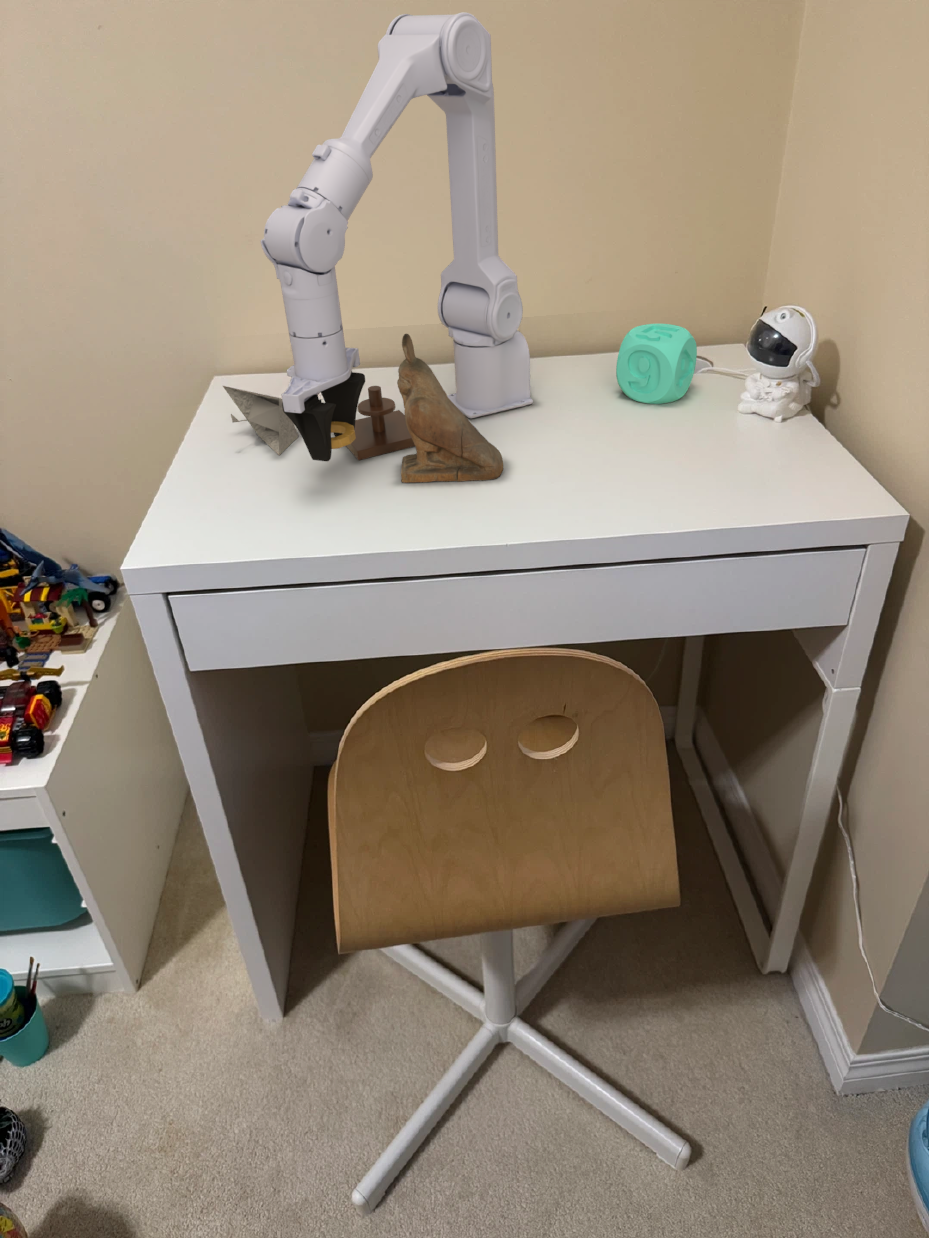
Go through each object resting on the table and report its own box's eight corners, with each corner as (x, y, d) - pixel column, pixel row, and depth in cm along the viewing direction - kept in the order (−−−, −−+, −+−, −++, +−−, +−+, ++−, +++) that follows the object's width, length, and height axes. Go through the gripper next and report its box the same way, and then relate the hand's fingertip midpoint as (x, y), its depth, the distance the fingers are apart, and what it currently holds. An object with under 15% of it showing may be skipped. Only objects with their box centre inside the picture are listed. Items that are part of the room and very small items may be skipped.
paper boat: (326, 429, 113) (273, 437, 106) (304, 465, 117) (251, 476, 110) (268, 363, 115) (213, 367, 108) (248, 400, 119) (194, 407, 112)
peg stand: (399, 418, 118) (395, 369, 114) (427, 443, 111) (422, 392, 107) (334, 433, 115) (327, 384, 111) (358, 460, 108) (351, 408, 104)
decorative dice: (694, 387, 121) (700, 327, 116) (671, 408, 116) (676, 347, 111) (638, 378, 125) (642, 320, 120) (614, 398, 119) (617, 338, 115)
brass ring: (346, 425, 105) (345, 417, 105) (362, 442, 101) (361, 434, 100) (301, 436, 103) (299, 427, 103) (315, 454, 99) (314, 445, 99)
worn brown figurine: (405, 502, 104) (353, 355, 94) (410, 479, 108) (361, 336, 98) (504, 481, 102) (462, 328, 91) (505, 459, 106) (466, 310, 96)
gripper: (314, 307, 102) (330, 419, 110) (247, 350, 91) (271, 472, 99) (370, 310, 100) (383, 425, 107) (309, 355, 89) (328, 479, 97)
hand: (333, 448), depth 103 cm, fingers closed on brass ring, 5 cm apart
